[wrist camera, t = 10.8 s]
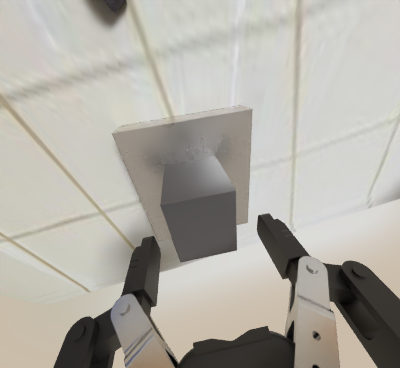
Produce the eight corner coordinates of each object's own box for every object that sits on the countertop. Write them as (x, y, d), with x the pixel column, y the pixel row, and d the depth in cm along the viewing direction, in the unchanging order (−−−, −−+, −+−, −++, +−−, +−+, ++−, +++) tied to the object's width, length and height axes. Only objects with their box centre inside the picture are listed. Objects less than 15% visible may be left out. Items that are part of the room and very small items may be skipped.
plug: (211, 149, 17) (236, 190, 10) (216, 204, 21) (236, 259, 15) (165, 157, 17) (160, 205, 10) (180, 211, 21) (183, 270, 14)
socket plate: (240, 105, 16) (252, 109, 14) (239, 208, 24) (247, 222, 21) (121, 125, 16) (111, 133, 13) (160, 224, 23) (158, 241, 21)
